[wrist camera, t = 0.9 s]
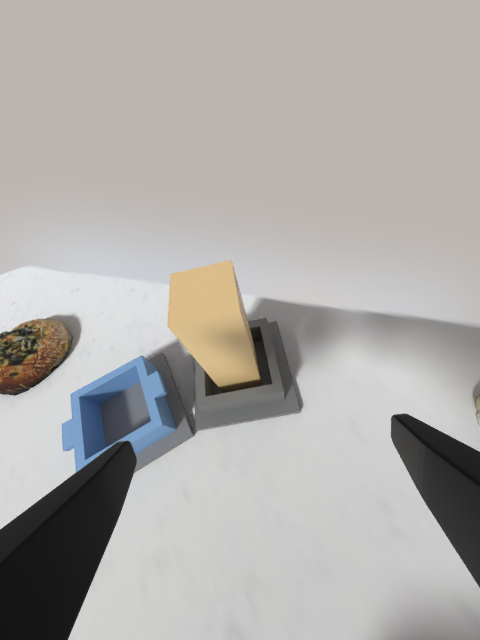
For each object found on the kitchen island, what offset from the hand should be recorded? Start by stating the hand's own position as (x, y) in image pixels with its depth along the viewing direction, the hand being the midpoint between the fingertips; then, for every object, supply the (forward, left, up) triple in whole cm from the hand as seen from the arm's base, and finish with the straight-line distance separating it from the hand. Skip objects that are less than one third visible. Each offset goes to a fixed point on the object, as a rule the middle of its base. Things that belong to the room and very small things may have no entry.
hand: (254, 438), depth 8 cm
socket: (+5, +6, -15) cm, 17 cm away
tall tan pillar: (+5, +6, -14) cm, 16 cm away
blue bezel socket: (-4, +14, -15) cm, 21 cm away
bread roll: (-4, +33, -15) cm, 37 cm away
